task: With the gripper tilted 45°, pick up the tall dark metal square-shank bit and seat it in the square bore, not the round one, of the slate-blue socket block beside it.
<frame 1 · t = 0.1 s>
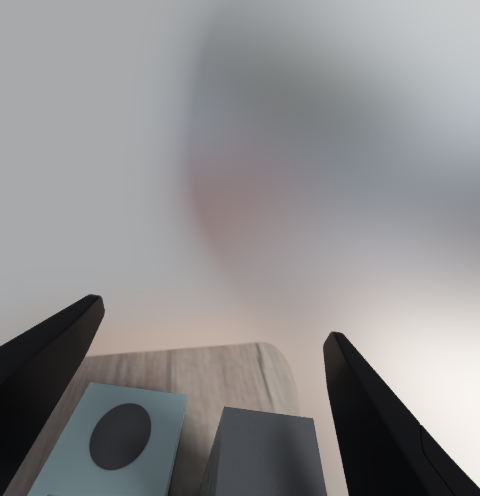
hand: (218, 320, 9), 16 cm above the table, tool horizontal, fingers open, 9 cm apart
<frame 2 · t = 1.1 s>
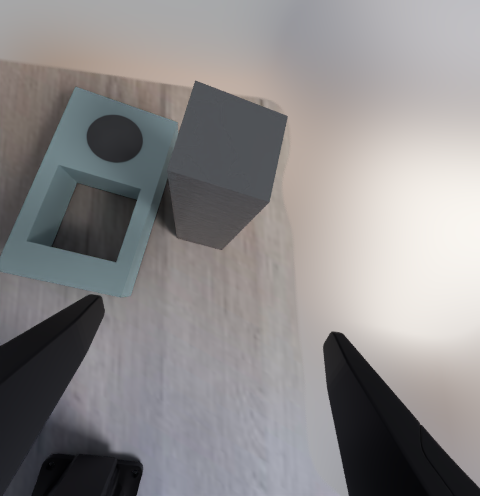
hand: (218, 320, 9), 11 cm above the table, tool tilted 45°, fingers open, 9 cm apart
square bit: (205, 222, 22), on the table
socket block: (109, 201, 20), on the table
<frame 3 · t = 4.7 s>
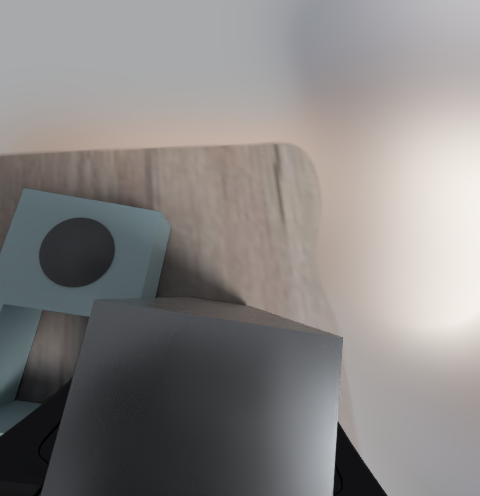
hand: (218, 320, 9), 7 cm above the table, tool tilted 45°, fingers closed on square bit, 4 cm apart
square bit: (215, 332, 16), on the table, touching gripper
socket block: (86, 322, 15), on the table
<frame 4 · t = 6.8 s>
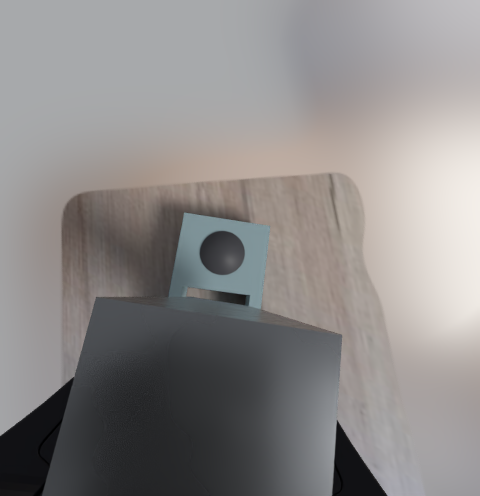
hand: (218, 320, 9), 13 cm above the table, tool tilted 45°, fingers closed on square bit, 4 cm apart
square bit: (215, 332, 16), point 7 cm above the table, touching gripper
socket block: (215, 299, 23), on the table
when the fingers open (7 cm above the table, at t = 8.8 s): square bit stays where it is, resting in socket block.
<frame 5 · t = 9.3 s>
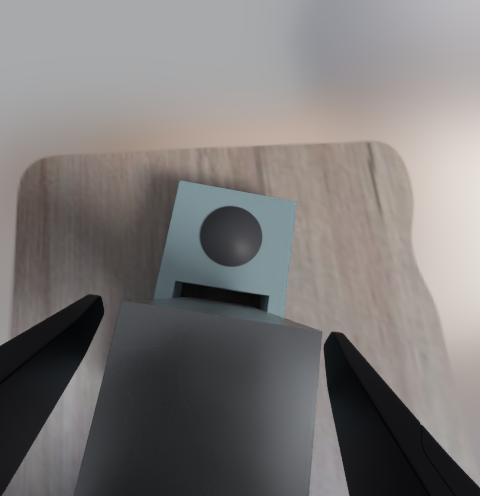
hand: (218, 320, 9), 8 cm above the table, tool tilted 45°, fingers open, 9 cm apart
square bit: (216, 330, 17), resting in socket block
socket block: (220, 300, 17), on the table
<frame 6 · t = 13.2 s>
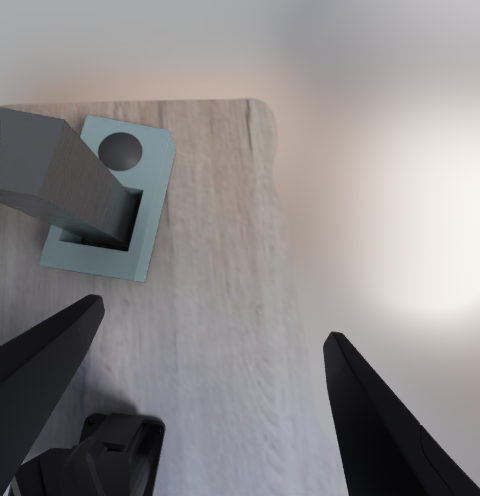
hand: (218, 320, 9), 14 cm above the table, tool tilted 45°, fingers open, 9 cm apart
square bit: (118, 225, 23), resting in socket block
socket block: (122, 205, 24), on the table
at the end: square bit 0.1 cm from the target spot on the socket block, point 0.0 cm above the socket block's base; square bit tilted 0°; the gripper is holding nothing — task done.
